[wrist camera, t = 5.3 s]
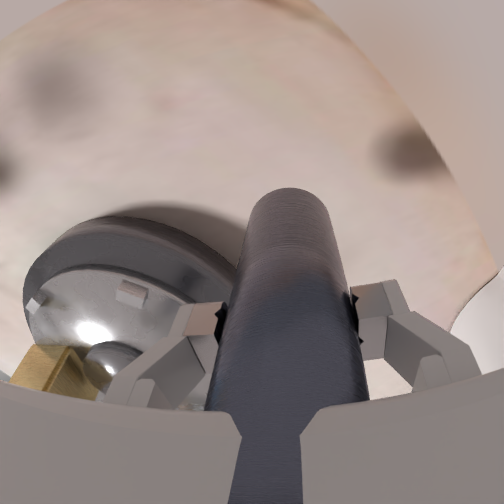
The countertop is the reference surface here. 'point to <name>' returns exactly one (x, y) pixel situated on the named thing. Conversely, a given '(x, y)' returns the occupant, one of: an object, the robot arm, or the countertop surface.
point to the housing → (137, 257)
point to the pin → (284, 344)
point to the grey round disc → (97, 330)
